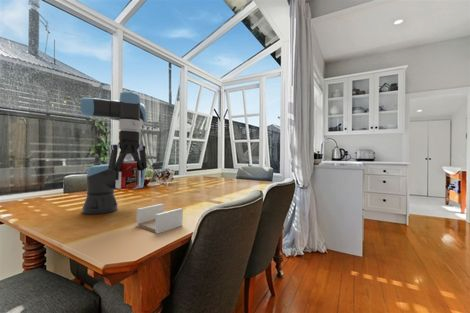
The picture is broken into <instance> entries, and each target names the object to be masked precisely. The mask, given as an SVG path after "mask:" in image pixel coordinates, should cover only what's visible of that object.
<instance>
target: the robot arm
mask: <svg viewBox="0 0 470 313" xmlns="http://www.w3.org/2000/svg"><path fill="white" fill-rule="evenodd" d="M80 113H81V114H82V116H84V117H85V116H87V117H95V118H96V117H97V118H105V119H109V120H114V121H119V122H118V125H119V126H118V129H119V132H118V140H119V141H118V143H116V144H111V145H110V150H111V151H110V155H109V156H110V157H109V162H108V163H107V164H97V165H93V166H92V165H91V166H90V167H88V169H87V173H86V174H87V175H86V177H87V178H86V198H85V199H84V200H85V201H84V202H83V206H82V214H86V215H100V214H108V213H112V212H115V211H117V210H118V202H117V200H116V197H115V190H121V189H120V188H121V172H119V170H120V168H121V165H122V163H123V161H124V160H131V161H137V185H136V187H135V188H132V189H131V190H135V189H141V188H143V187H144V183H145V178H146V172H147V170H146V169H147V168H148V166H147V163H148V162H147V157H146V155H147V154H146V149H147V147H146V145H141V138H142V137H141V136H142V135H141V131H142V130H141V129H142V128H141V127H142V126H143V125H144V123H146V122H147V115H146V114H147V112H146V107H145V105H144V103H143V102H141V96H140V94H139V93H138V92H134V91H128V90H127V91H121V92H120V93H119V100H112V99H111V100H110V99H102V98H93V97H81V99H80ZM119 149H120V151H118V150H119ZM118 152H119V156H118ZM116 161H117V162H116ZM118 188H119V189H118Z"/></svg>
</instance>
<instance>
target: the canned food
mask: <svg viewBox="0 0 470 313" xmlns="http://www.w3.org/2000/svg"><path fill="white" fill-rule="evenodd" d="M116 162H117V160H116ZM119 172H121V188H120V189H119V188H118V189H117V190H128V189H129V190H133V189H132V188H135V187H136V185H137V161H131V160H124V161H123V163H122V165H121V168H120V170H119ZM135 189H136V188H135Z"/></svg>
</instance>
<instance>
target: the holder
mask: <svg viewBox="0 0 470 313" xmlns="http://www.w3.org/2000/svg"><path fill="white" fill-rule="evenodd" d="M164 205H165V204H164V203H158V204H153V205H148V206H144V207H139V208H136V224H135V225H136V227H139V228H141V229H144V230H147V231H150V232H152V233H155V234H162V233H164V232H167V231H170V230H173V229H177V228H179V227H181V226H183V212H184V211H183V208H182V207H179V208H176V209H172V210H168V211H164Z"/></svg>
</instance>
